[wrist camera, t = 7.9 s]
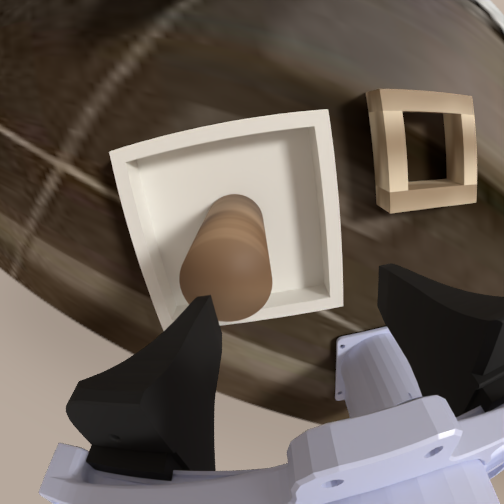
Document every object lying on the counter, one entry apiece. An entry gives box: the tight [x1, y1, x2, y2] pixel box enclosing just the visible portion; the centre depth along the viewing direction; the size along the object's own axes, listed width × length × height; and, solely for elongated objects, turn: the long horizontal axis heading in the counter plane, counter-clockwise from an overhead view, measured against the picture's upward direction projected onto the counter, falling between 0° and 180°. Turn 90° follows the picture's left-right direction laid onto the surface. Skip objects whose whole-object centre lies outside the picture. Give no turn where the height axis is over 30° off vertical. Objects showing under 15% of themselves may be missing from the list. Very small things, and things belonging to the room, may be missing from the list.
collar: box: [366, 89, 477, 214], centre depth 18 cm, size 8×8×2 cm
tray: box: [109, 109, 343, 331], centre depth 20 cm, size 14×14×2 cm
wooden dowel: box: [179, 194, 273, 322], centre depth 17 cm, size 4×4×9 cm
